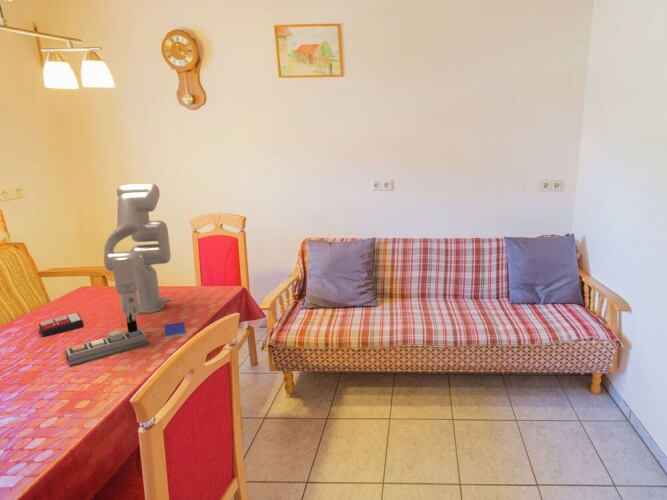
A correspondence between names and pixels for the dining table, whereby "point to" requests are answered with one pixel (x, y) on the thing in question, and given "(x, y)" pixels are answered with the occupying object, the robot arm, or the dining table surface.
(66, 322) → the calculator
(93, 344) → the key
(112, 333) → the key
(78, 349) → the key
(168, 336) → the hard drive
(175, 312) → the dining table surface
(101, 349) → the keypad
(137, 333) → the key
